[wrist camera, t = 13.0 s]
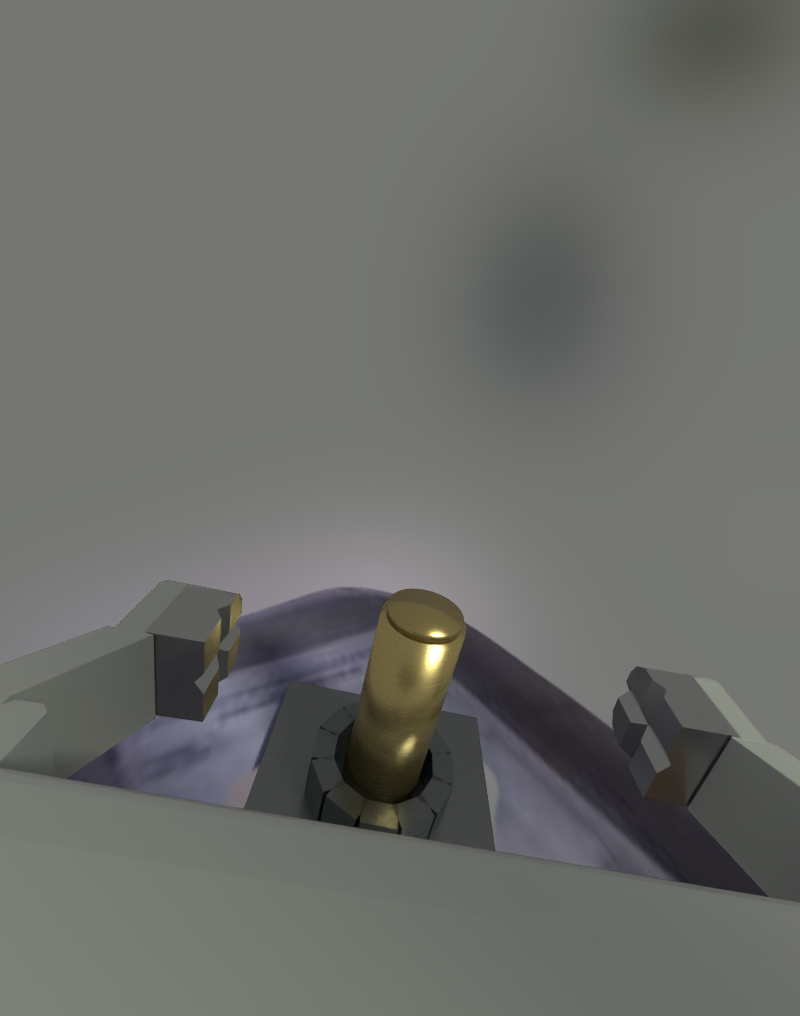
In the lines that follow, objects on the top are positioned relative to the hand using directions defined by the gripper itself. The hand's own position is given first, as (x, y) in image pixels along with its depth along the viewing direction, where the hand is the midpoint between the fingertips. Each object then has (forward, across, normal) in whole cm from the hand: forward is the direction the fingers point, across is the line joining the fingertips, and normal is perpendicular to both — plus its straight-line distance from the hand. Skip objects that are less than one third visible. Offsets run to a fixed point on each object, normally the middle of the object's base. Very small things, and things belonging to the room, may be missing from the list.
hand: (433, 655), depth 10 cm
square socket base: (+14, -1, +24) cm, 28 cm away
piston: (+14, -1, +23) cm, 28 cm away
